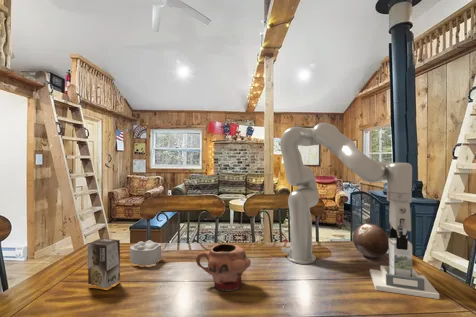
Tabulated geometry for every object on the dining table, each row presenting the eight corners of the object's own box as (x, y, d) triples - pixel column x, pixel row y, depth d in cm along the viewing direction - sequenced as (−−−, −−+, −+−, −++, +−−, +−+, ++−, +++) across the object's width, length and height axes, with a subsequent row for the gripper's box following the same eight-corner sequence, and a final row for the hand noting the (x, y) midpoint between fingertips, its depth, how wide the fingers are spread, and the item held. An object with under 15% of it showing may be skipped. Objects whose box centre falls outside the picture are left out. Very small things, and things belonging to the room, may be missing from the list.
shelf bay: (375, 289, 87) (375, 275, 87) (369, 272, 100) (369, 260, 100) (439, 299, 81) (439, 283, 81) (424, 279, 94) (423, 266, 94)
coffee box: (121, 283, 94) (120, 239, 94) (106, 292, 88) (106, 245, 88) (102, 279, 97) (101, 237, 97) (87, 288, 91) (86, 242, 91)
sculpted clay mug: (191, 294, 86) (191, 252, 86) (198, 277, 98) (198, 241, 98) (251, 294, 85) (250, 253, 85) (250, 277, 97) (250, 241, 97)
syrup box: (406, 277, 92) (405, 237, 92) (413, 285, 86) (412, 243, 87) (388, 276, 94) (388, 236, 94) (394, 283, 88) (393, 241, 88)
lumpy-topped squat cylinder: (152, 268, 107) (152, 247, 107) (124, 266, 109) (124, 246, 109) (163, 258, 117) (163, 239, 117) (137, 257, 120) (137, 238, 120)
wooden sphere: (347, 256, 117) (347, 223, 117) (361, 248, 127) (360, 218, 128) (383, 266, 106) (382, 230, 106) (394, 256, 116) (394, 223, 116)
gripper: (419, 201, 81) (418, 254, 81) (404, 194, 98) (403, 238, 98) (392, 200, 84) (391, 251, 84) (382, 193, 100) (381, 236, 100)
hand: (398, 244), depth 91 cm, fingers open, 9 cm apart
